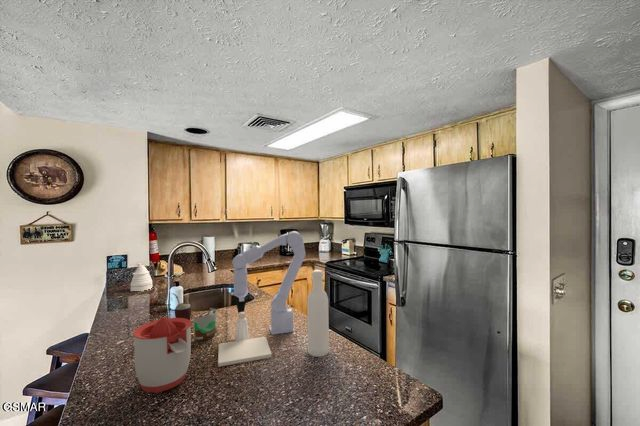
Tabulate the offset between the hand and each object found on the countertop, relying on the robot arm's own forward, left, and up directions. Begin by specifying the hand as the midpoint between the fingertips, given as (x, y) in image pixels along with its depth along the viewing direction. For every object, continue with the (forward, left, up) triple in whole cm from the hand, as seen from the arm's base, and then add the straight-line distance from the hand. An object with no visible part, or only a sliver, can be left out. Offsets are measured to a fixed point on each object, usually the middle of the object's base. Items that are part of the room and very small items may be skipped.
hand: (241, 313), depth 122 cm
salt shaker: (0, +7, -8) cm, 11 cm away
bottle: (-26, +28, -8) cm, 39 cm away
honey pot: (+61, -98, -8) cm, 116 cm away
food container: (+13, 0, -8) cm, 16 cm away
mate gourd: (+26, -23, -8) cm, 36 cm away
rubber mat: (0, +18, -8) cm, 20 cm away
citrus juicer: (+24, +30, -8) cm, 39 cm away
